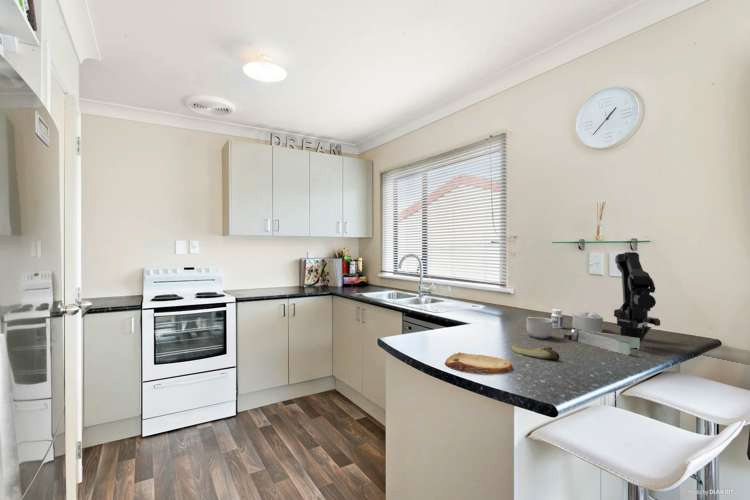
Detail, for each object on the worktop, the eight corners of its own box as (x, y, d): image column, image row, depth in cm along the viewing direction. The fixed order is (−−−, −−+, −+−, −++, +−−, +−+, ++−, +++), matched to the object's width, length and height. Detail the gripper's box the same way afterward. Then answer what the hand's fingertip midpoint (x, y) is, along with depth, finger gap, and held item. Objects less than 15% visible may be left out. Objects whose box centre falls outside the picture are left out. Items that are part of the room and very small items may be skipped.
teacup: (556, 340, 153) (557, 322, 153) (531, 339, 153) (532, 321, 153) (542, 332, 167) (542, 315, 167) (519, 332, 167) (519, 315, 167)
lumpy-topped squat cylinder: (584, 326, 182) (585, 309, 182) (608, 332, 170) (609, 314, 170) (569, 327, 179) (569, 310, 179) (592, 333, 167) (593, 315, 166)
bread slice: (517, 369, 116) (518, 358, 116) (485, 382, 105) (486, 369, 105) (472, 355, 130) (472, 345, 130) (439, 365, 119) (439, 354, 119)
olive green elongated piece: (565, 358, 128) (565, 349, 128) (552, 364, 122) (552, 354, 122) (515, 347, 144) (515, 338, 144) (501, 351, 138) (501, 342, 138)
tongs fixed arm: (563, 338, 157) (563, 328, 157) (570, 337, 158) (570, 327, 158) (625, 355, 132) (625, 343, 132) (632, 354, 134) (632, 342, 134)
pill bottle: (560, 326, 181) (560, 309, 181) (564, 328, 176) (564, 311, 176) (549, 326, 181) (549, 308, 181) (553, 328, 176) (553, 310, 176)
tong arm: (580, 340, 154) (580, 330, 154) (580, 339, 154) (581, 329, 154) (639, 349, 141) (639, 338, 141) (639, 349, 142) (639, 337, 142)
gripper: (633, 301, 156) (632, 336, 156) (604, 303, 149) (603, 340, 149) (661, 305, 146) (660, 343, 146) (632, 307, 139) (631, 347, 139)
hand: (638, 343), depth 145 cm, fingers closed
